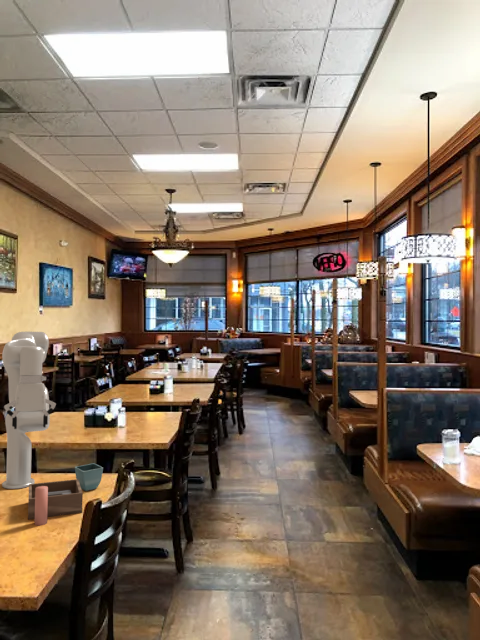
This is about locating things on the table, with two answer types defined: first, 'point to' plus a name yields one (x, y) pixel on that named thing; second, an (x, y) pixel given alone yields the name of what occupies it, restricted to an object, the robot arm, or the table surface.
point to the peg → (41, 505)
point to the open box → (58, 498)
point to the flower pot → (89, 476)
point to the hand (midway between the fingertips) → (30, 427)
